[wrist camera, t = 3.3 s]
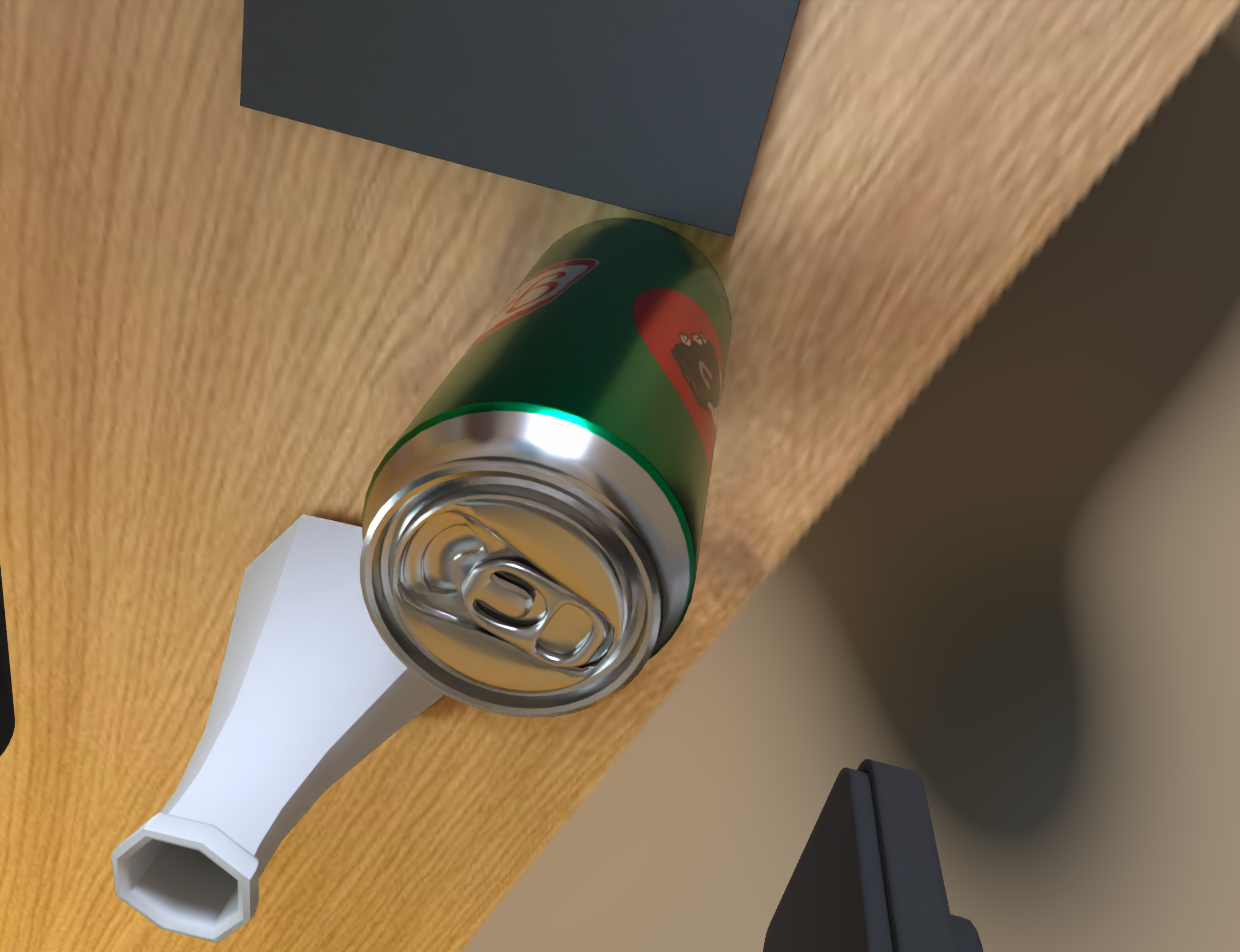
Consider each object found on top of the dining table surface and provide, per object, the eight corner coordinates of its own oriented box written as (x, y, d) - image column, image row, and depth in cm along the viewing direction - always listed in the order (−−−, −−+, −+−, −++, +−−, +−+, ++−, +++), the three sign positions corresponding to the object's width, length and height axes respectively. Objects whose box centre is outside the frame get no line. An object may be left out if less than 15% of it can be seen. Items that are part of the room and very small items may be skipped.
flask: (216, 645, 31) (-11, 910, 22) (288, 470, 27) (56, 698, 18) (421, 748, 31) (282, 1046, 22) (515, 590, 28) (396, 864, 19)
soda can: (588, 169, 22) (416, 365, 12) (773, 284, 23) (763, 565, 13) (494, 343, 25) (282, 633, 14) (663, 443, 25) (579, 789, 15)
